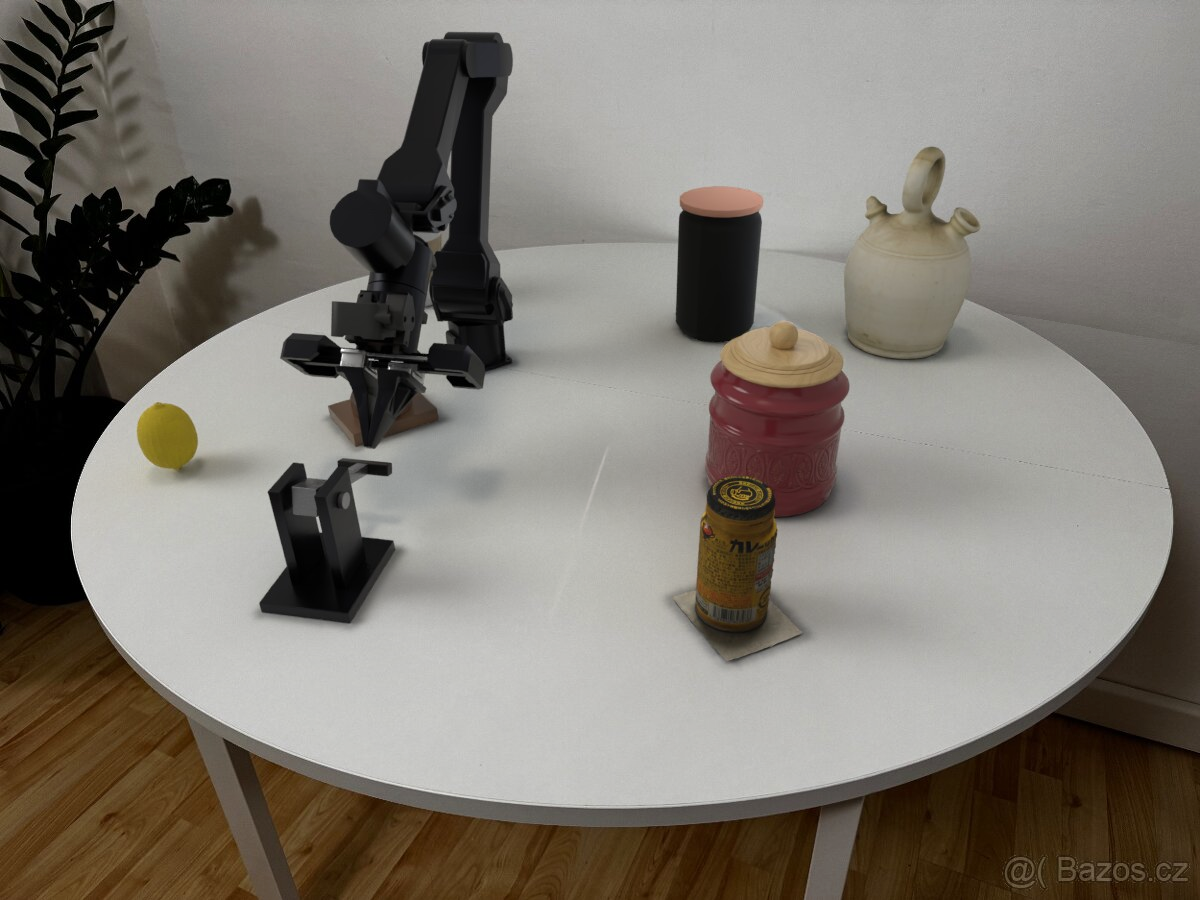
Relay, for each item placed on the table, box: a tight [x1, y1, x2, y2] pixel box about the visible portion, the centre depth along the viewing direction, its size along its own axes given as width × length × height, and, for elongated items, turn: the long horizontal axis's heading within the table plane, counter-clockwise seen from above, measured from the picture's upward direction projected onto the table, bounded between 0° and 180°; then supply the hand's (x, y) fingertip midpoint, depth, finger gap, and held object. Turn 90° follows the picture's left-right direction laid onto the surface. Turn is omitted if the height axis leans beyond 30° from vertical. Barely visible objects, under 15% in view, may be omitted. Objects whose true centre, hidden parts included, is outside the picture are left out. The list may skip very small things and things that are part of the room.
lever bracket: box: [259, 462, 396, 624], centre depth 76 cm, size 10×8×11 cm
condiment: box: [671, 476, 803, 662], centre depth 71 cm, size 7×8×12 cm
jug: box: [843, 146, 981, 360], centre depth 112 cm, size 15×16×25 cm
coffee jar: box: [675, 185, 764, 344], centre depth 118 cm, size 11×11×18 cm
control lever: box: [292, 457, 393, 518], centre depth 79 cm, size 12×5×2 cm, turn 169°
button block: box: [327, 390, 440, 448], centre depth 102 cm, size 10×8×4 cm
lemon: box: [136, 401, 199, 471], centre depth 93 cm, size 6×6×8 cm
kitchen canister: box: [704, 320, 851, 517], centre depth 86 cm, size 13×13×18 cm
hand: (369, 447), depth 84 cm, fingers closed
